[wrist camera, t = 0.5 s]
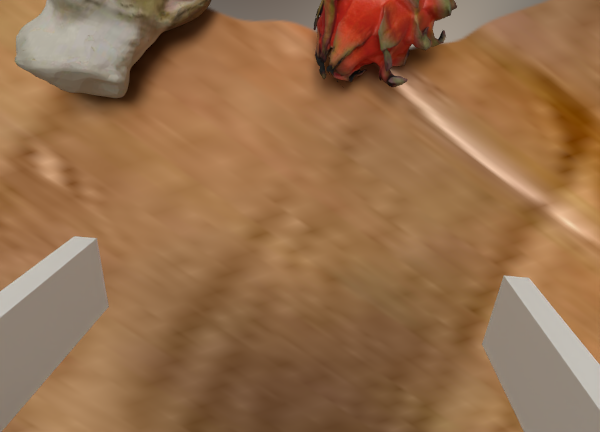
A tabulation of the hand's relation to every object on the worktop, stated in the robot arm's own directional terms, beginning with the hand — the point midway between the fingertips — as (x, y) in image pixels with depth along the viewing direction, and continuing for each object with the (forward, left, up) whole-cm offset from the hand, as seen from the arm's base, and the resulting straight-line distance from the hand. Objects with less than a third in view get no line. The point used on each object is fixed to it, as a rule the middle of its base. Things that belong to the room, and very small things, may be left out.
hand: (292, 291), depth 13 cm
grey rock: (+20, +12, -16) cm, 28 cm away
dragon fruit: (+18, -6, -16) cm, 25 cm away
